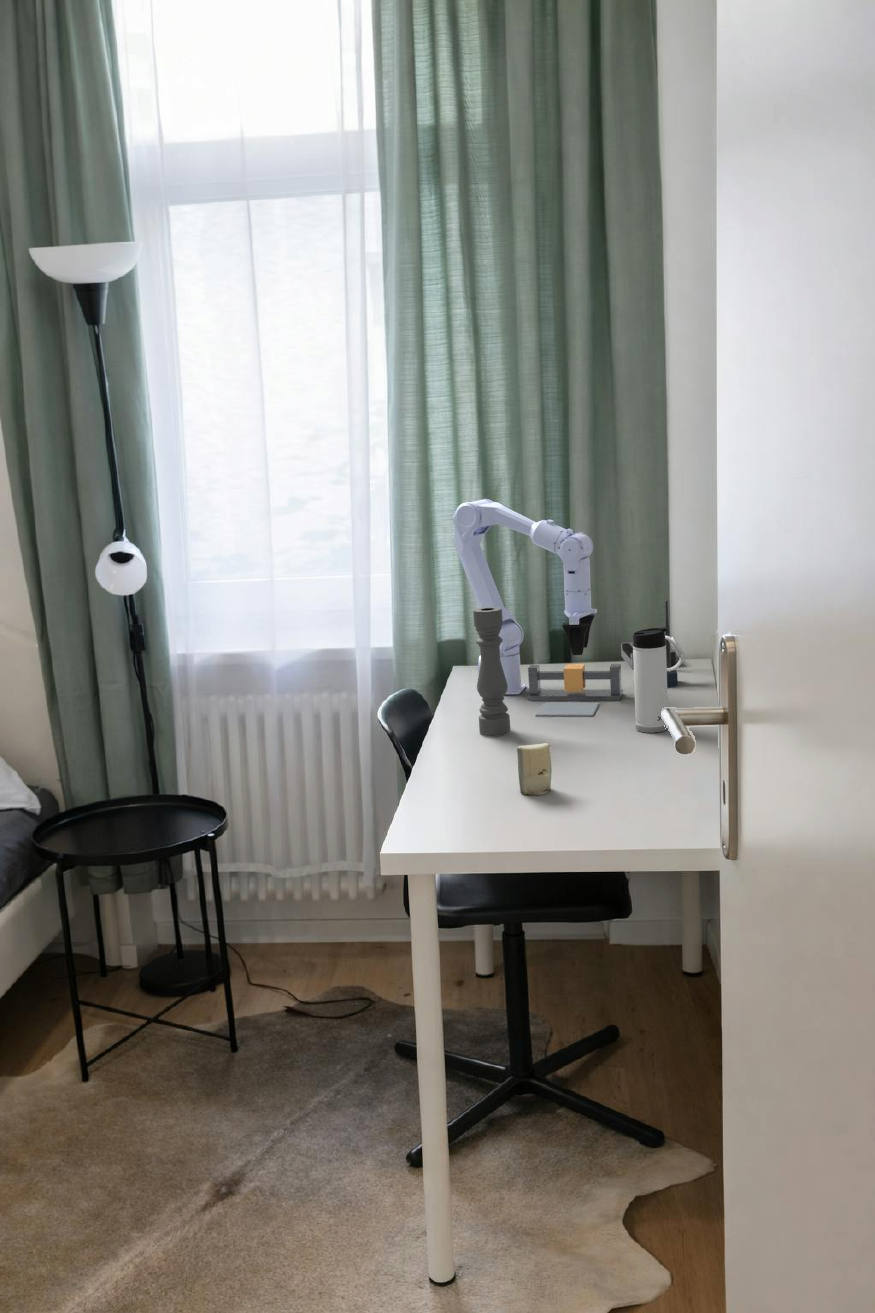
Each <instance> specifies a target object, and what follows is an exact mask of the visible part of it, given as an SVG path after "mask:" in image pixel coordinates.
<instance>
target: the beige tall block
mask: <svg viewBox="0 0 875 1313" xmlns="http://www.w3.org/2000/svg"><path fill="white" fill-rule="evenodd" d="M550 748H551V745H550V744H549V743H547V742H544V743H538V744H537V743H535V744H527V745H519V746H517V748H516V752H517V768H518V769H517V772H518V784H519V791H520V793H521V794H522V795H524V796H526V795H529V796H530V795H534V796H540V795H545V794H546V793H548V792H551V791H552V790H551V787H552V786H551V785H552V783H551V782H552V771H553V770H552V766H553V765H552V757H551V749H550Z"/></svg>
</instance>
